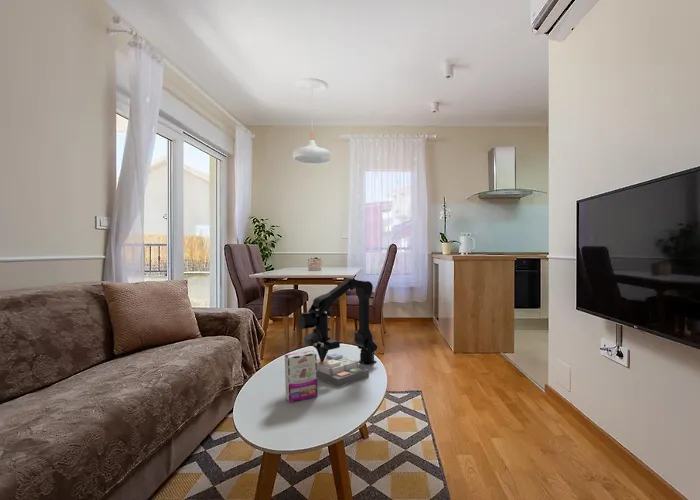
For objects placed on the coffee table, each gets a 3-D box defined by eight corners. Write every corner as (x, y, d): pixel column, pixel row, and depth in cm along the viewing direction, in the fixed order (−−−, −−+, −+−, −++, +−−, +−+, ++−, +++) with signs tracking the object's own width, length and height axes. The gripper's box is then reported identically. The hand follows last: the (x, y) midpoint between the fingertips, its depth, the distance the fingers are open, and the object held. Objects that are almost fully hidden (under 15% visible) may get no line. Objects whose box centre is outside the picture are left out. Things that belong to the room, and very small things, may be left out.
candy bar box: (312, 392, 142) (312, 350, 142) (317, 397, 137) (317, 353, 137) (284, 398, 136) (284, 354, 136) (288, 403, 132) (288, 357, 132)
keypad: (336, 365, 175) (336, 353, 175) (368, 376, 159) (368, 364, 159) (306, 373, 164) (306, 361, 164) (338, 386, 147) (338, 373, 147)
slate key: (335, 357, 172) (335, 352, 172) (342, 359, 168) (342, 354, 168) (326, 359, 168) (326, 354, 168) (333, 361, 164) (333, 357, 164)
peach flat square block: (323, 363, 167) (323, 358, 167) (330, 365, 163) (330, 361, 163) (313, 365, 164) (313, 361, 164) (320, 368, 160) (320, 363, 160)
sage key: (345, 363, 166) (345, 358, 166) (353, 366, 163) (353, 361, 163) (336, 365, 163) (336, 361, 163) (344, 368, 159) (344, 363, 159)
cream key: (333, 363, 162) (332, 359, 162) (340, 366, 158) (340, 361, 158) (323, 366, 158) (323, 361, 158) (331, 369, 154) (331, 364, 154)
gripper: (294, 325, 165) (295, 360, 165) (319, 332, 151) (320, 370, 151) (314, 322, 172) (315, 355, 172) (340, 328, 158) (340, 364, 158)
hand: (322, 361), depth 163 cm, fingers closed, pressing on peach flat square block
